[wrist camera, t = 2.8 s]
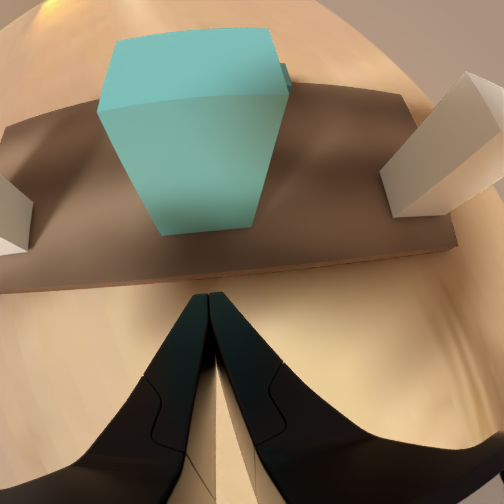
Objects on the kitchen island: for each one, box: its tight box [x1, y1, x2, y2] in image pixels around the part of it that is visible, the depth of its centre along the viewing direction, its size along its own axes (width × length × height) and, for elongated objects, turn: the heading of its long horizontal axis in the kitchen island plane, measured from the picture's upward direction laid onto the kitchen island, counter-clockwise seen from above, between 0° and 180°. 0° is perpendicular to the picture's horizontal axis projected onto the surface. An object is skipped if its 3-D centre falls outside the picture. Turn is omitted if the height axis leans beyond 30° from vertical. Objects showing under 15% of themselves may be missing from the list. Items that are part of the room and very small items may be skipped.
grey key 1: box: [379, 71, 504, 218], centre depth 12 cm, size 3×4×9 cm
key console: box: [0, 63, 458, 294], centre depth 15 cm, size 12×31×4 cm, turn 97°
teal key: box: [97, 28, 289, 236], centre depth 11 cm, size 3×4×9 cm
